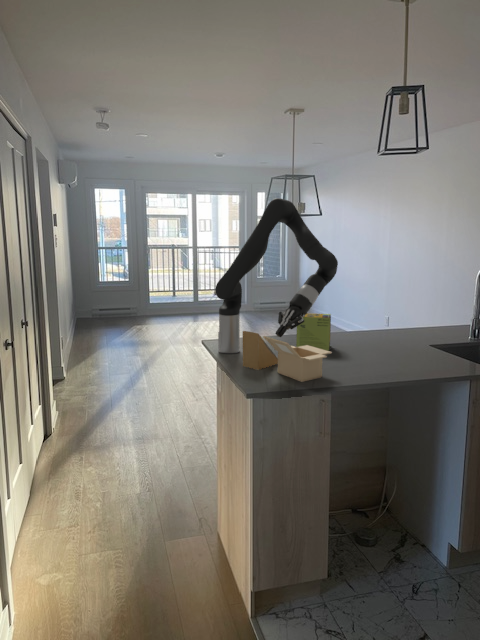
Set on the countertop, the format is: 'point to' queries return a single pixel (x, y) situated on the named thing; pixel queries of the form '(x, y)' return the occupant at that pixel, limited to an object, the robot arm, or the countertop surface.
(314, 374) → the carton
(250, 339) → the sandwich container
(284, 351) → the flap
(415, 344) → the countertop surface
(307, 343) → the protein box
